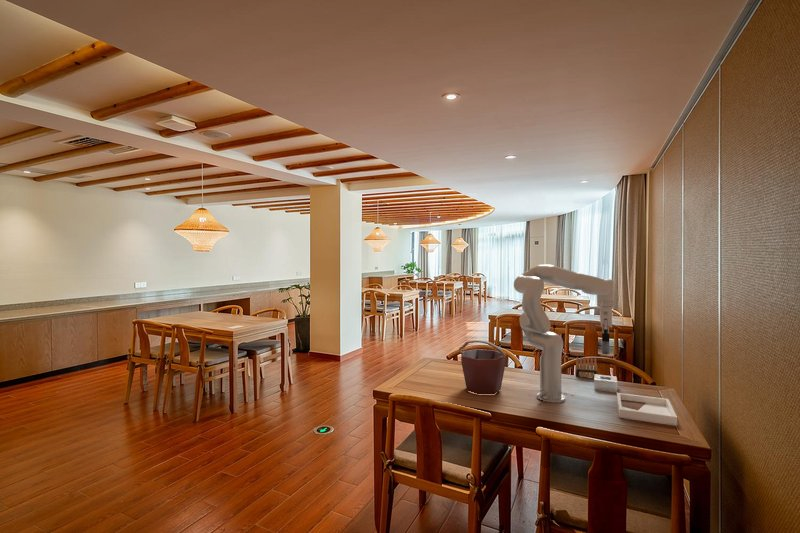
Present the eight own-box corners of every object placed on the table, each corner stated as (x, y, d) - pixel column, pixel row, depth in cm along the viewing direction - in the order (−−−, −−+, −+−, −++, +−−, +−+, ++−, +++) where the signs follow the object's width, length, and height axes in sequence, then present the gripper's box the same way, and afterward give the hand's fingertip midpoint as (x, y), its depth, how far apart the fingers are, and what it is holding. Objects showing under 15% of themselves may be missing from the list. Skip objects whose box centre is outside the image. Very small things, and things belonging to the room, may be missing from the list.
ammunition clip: (575, 378, 217) (575, 356, 217) (575, 377, 219) (575, 355, 219) (597, 380, 213) (597, 358, 213) (597, 379, 215) (597, 357, 214)
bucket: (450, 389, 203) (449, 341, 202) (477, 380, 217) (476, 335, 217) (489, 401, 184) (489, 348, 184) (516, 390, 199) (515, 341, 198)
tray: (677, 426, 155) (677, 417, 155) (619, 417, 164) (619, 409, 164) (668, 406, 174) (668, 398, 174) (616, 400, 183) (616, 392, 183)
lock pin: (607, 354, 194) (607, 330, 194) (601, 353, 197) (600, 329, 196) (610, 353, 197) (610, 329, 196) (603, 352, 199) (603, 329, 199)
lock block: (617, 394, 191) (617, 382, 191) (594, 391, 195) (594, 379, 195) (616, 388, 200) (616, 376, 200) (594, 385, 204) (594, 374, 204)
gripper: (614, 306, 187) (614, 344, 187) (613, 302, 202) (613, 338, 202) (597, 305, 190) (597, 343, 191) (596, 301, 205) (597, 337, 206)
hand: (605, 340), depth 197 cm, fingers closed on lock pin, 3 cm apart
